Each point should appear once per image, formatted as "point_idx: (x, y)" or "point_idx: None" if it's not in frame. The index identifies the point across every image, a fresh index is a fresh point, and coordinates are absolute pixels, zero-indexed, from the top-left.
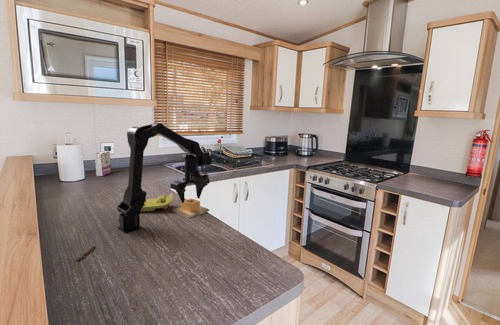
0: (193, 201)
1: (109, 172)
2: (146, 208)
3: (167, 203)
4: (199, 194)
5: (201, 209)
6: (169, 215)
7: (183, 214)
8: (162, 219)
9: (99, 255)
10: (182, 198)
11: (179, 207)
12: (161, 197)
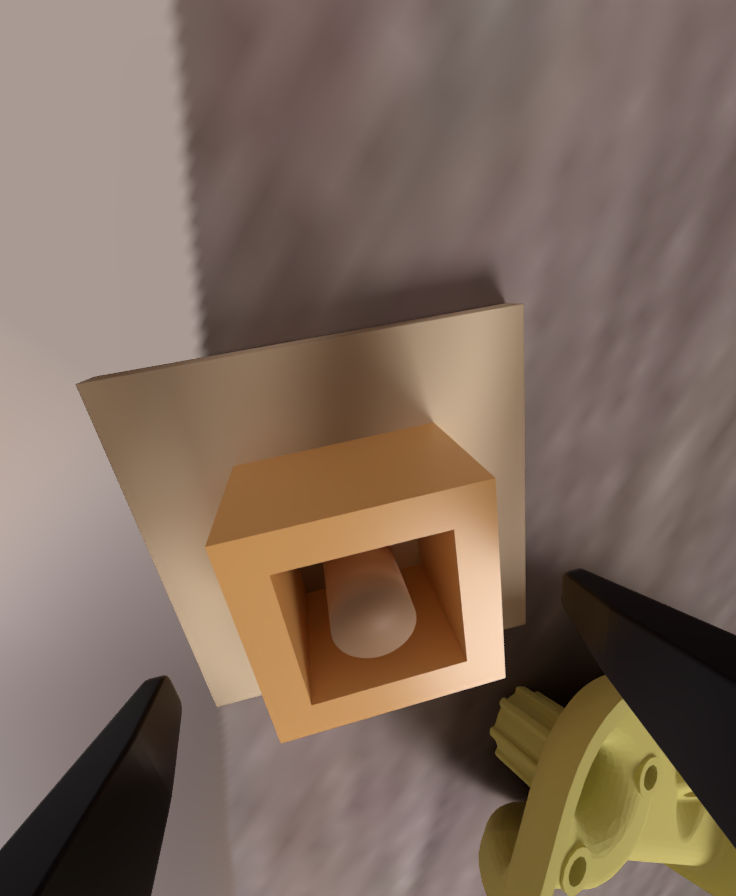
0: (297, 633)
1: None
2: None
3: None
4: (112, 777)
5: (214, 442)
6: (607, 513)
7: (517, 427)
8: (722, 447)
9: None
10: (700, 628)
11: None
12: (607, 856)
